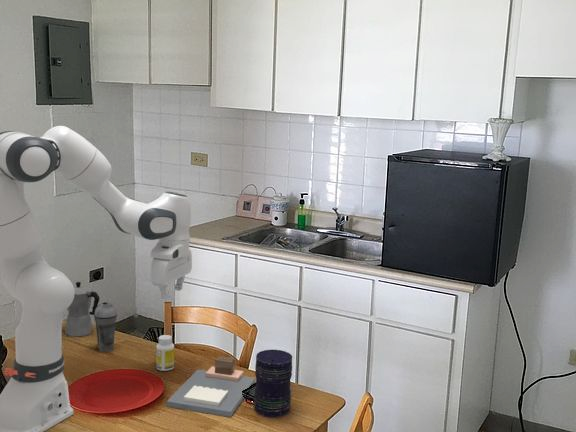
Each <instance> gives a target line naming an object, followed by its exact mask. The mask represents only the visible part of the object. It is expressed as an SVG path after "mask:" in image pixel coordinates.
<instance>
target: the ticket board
mask: <svg viewBox="0 0 576 432" xmlns="http://www.w3.org/2000/svg"><path fill="white" fill-rule="evenodd" d="M207 371H208V370H207V369H206V370H205V369H198V368H197V369H196V371H195V372H193V374H192V375H191V376H190V377H189V378H188V379H187V380H186V381H185V382H184V383H183V384H182V385H181V386H180V387H179V388H178V389H177V390H176V391H175V392H174V393H173V394H172V395H171V396H170V397H169V398H168V400H167V401H166V407H167V408H173V409H177V410H178V409H179V410H185V411H191V412H197V413H202V414H203V413H204V414H210V415H215V416H221V417H228V418H231V417H232V415H234V413H235V412H236V410H237V409H238V408H239V406H240V405H241V403H242V402H243V401H244V399H245V398H244V397H243V395H242V391H243V390H245V389H247V388H249V387H250V386H251V385H252V384H254V383H255V384H256V377H250V376H245V375H242V377H241V378H240V379H239V381H233V380H227V379H220V378H213V377H207V376H205V374H206V372H207ZM255 384H254V385H255Z"/></svg>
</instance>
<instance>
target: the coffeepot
mask: <svg viewBox="0 0 576 432" xmlns="http://www.w3.org/2000/svg"><path fill="white" fill-rule="evenodd" d="M81 283H82V282H81V281H76V282H75V285H76V286H74V291H75V294H74V299H73V301H72V303H71V305H70V306H69V307H68V308H67V309H66V311H68V314H67V317H66V323H65V329H64V334H65V335H67V336H68V337H71V338H72V337H74V338H78V337H86V336H89V335H90V334H92V332H93V331H94V330H93V329H94V328H93V324H92V318H91V315H92V316H94V313H95V309H96V308H97V306H98V305H99V302H100V296H99V294H98V292H96V291H93V289H92V288H91V287H88V286H81ZM92 298H94V300H93V305H92V310H91V311H90V308H91V303H92Z"/></svg>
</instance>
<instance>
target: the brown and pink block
mask: <svg viewBox="0 0 576 432" xmlns="http://www.w3.org/2000/svg"><path fill="white" fill-rule="evenodd" d="M235 363H236V361H235V358H234V357H233V358H232V357H225V356H219V355H218V357H216V358H215V360H214V366H211V367H210V368H208V370H206V371H207V372H206V374H205V376H207V377H213V378H220V379H227V380H233V381H239V379H240V378H241V377H242V376H244V370H237V369H235V365H236V364H235Z"/></svg>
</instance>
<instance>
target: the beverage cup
mask: <svg viewBox="0 0 576 432" xmlns="http://www.w3.org/2000/svg"><path fill="white" fill-rule="evenodd" d="M110 293H111V289H110V288H109V289H108V290H107V297H106V298H107V299H106V302H104V301H103V302H102V303H98V306H97V308H96V309H95V313H94V315H93V318H94V319H93V320H94V323H95V329H96V339H97V347H98V351H100V352H101V353H102V352H104V353H106V352H110V351H113V350H114V345H115V344H114V343H115V331H116V322H117V316H118V313H117V312H118V311H117V308H116V307H115V306H114V304H112V303H111V302H110V295H111V294H110Z"/></svg>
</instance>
